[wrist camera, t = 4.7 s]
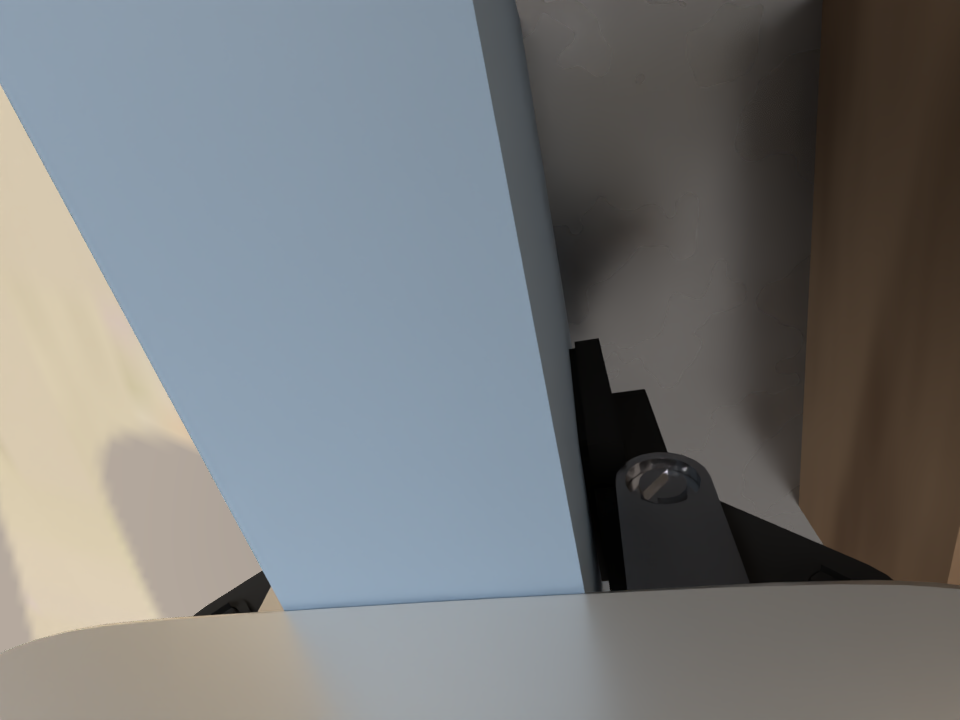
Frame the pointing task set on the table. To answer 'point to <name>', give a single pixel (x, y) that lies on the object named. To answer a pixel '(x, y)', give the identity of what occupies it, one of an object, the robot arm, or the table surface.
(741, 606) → the robot arm
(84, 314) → the table surface
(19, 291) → the table surface
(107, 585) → the table surface
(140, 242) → the sheet
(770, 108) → the rack
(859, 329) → the offcut tall
